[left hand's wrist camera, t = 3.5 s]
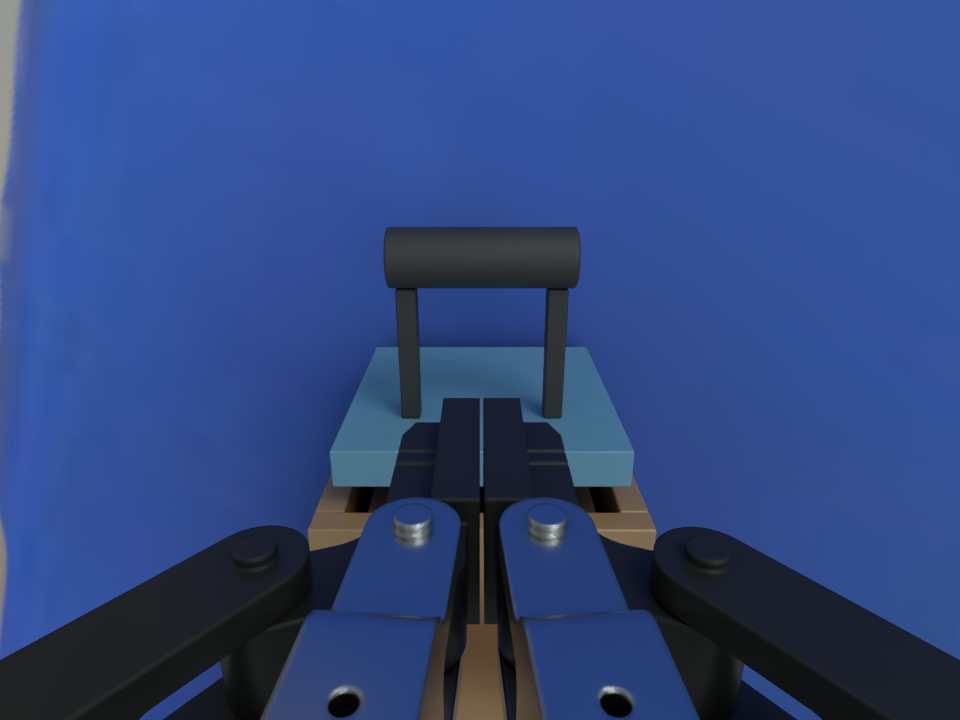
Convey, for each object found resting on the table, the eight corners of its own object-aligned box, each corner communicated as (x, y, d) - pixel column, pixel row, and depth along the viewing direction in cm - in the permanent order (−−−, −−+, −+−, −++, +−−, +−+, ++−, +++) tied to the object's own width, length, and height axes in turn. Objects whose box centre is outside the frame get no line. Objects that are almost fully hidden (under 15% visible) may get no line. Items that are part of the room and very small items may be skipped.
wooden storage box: (368, 381, 28) (306, 529, 18) (593, 381, 28) (657, 529, 18) (392, 723, 35) (358, 961, 25) (569, 723, 35) (603, 961, 25)
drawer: (366, 200, 24) (307, 242, 16) (596, 200, 24) (656, 242, 16) (399, 696, 33) (372, 885, 25) (563, 696, 33) (590, 886, 25)
